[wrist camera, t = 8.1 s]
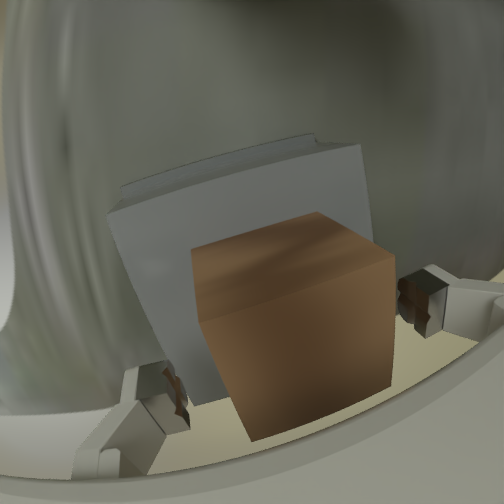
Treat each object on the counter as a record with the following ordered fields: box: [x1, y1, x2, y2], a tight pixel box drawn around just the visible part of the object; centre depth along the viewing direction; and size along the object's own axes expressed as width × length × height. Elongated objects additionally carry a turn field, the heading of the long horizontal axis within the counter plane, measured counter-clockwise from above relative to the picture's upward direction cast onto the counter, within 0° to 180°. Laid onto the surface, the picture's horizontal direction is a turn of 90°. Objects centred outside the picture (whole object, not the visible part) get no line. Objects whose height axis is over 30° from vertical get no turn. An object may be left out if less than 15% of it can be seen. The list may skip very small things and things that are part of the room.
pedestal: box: [105, 134, 373, 406], centre depth 15 cm, size 11×11×6 cm
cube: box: [191, 211, 396, 442], centre depth 10 cm, size 5×5×5 cm
